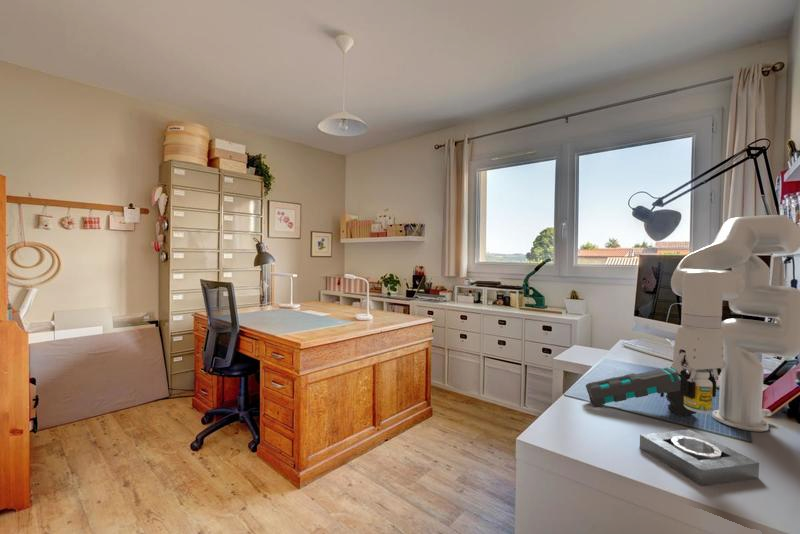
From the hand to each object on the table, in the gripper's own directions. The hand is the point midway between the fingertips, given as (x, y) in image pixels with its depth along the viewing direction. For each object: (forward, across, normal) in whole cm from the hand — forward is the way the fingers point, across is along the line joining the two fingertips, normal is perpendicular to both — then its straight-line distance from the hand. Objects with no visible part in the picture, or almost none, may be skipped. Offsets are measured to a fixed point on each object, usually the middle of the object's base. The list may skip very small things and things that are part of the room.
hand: (697, 395), depth 88 cm
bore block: (+17, 0, 0) cm, 17 cm away
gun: (+17, -12, -29) cm, 36 cm away
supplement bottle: (+4, 0, 0) cm, 4 cm away
